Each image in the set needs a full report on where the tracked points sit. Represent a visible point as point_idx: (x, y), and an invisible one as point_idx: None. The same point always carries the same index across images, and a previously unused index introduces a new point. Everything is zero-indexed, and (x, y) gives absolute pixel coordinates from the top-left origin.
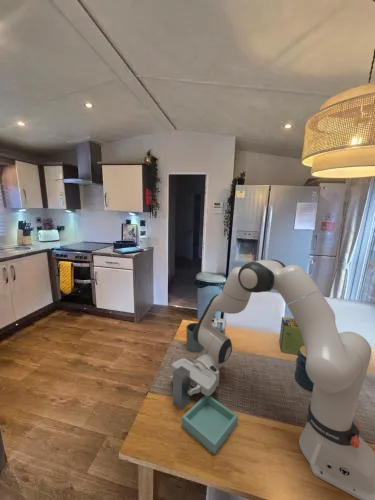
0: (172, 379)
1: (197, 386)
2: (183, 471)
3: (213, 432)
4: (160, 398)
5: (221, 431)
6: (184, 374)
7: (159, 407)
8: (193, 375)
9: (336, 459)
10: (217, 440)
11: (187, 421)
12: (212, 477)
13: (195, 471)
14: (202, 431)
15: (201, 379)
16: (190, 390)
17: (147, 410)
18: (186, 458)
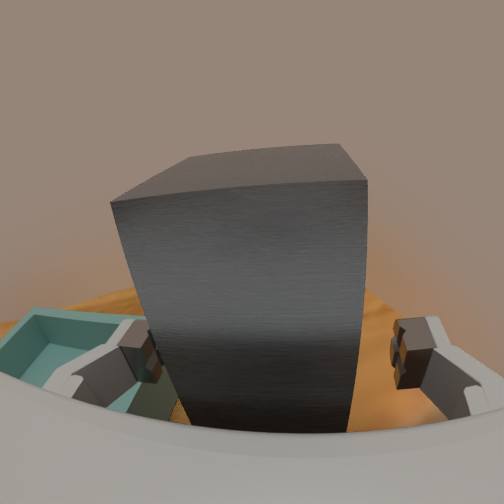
0: (398, 321)
1: (71, 378)
2: (133, 287)
3: (45, 382)
4: (415, 395)
5: (4, 344)
6: (183, 168)
7: (365, 363)
8: (152, 479)
9: None
10: (23, 318)
11: (141, 316)
12: (61, 309)
13: (102, 299)
14: (71, 317)
15: (17, 444)
16: (133, 322)
17: (388, 323)
18: (133, 306)
